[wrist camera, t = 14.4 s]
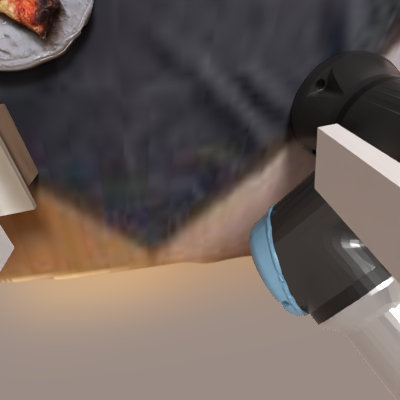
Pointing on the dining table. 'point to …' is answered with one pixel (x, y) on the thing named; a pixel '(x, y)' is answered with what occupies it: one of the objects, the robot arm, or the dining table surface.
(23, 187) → the white box
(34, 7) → the food plate
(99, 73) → the dining table surface
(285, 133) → the dining table surface
